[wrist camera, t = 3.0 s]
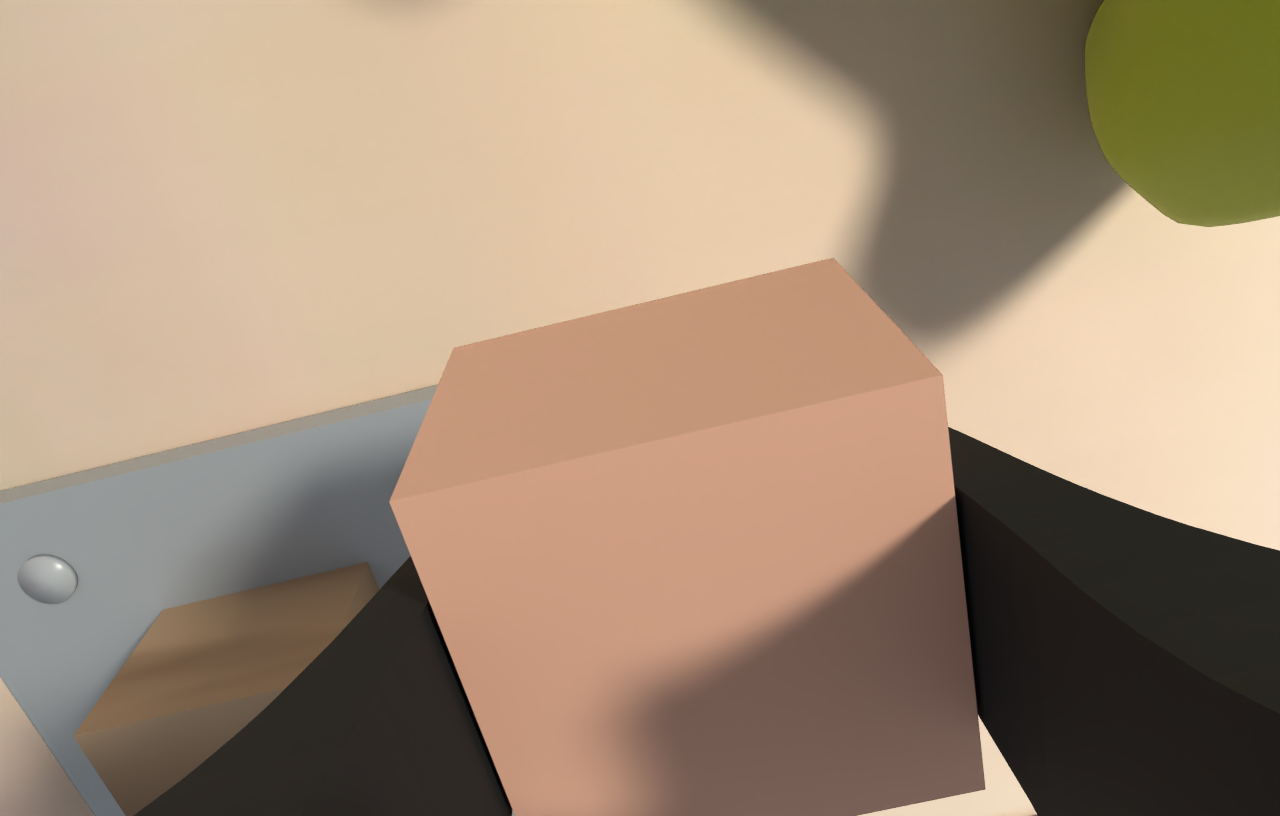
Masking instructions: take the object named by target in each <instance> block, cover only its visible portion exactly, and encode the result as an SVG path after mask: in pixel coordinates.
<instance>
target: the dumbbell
mask: <svg viewBox="0 0 1280 816" xmlns="http://www.w3.org/2000/svg"><path fill="white" fill-rule="evenodd" d="M1085 80H1086V92H1087V101H1088V107H1089V114H1090V118H1091V122H1092V127H1093V130H1094V133H1095V135H1096V137H1097V140H1098V142H1099V145H1100V147H1101V149H1102V152H1103V154H1104V156H1105V158H1106V159H1107V161H1108V162H1109V163H1110V165H1111V166H1112V167H1113V169H1114V170H1115V171H1116V173H1117V174H1118V175H1119V176H1120V177H1121V178H1122V179H1123V180H1124V181H1125V182H1126V183H1127V184H1128V185H1129V186H1130V187H1132V188H1133V189H1134V190H1135V191H1136V192H1137V193H1139V194H1140V195H1141V196H1142V197H1143V198H1144V199H1146V200H1147V201H1148V202H1149V203H1150V204H1151V205H1153V206H1154V207H1155V208H1156V209H1157V210H1159V211H1160V212H1161V213H1162V214H1164V215H1165V216H1167V217H1169V218H1170V219H1172V220H1174V221H1176V222H1177V223H1181V224H1189V225H1196V226H1204V227H1213V226H1223V225H1231V224H1238V223H1245V222H1251V221H1256V220H1261V219H1267V218H1272V217H1277V216H1280V0H1104V1H1103V3H1102V4H1101V6H1100V7H1099V9H1098V10H1097V12H1096V15H1095V17H1094V20H1093V22H1092V25H1091V27H1090V30H1089V33H1088V35H1087V38H1086V46H1085Z"/></svg>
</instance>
